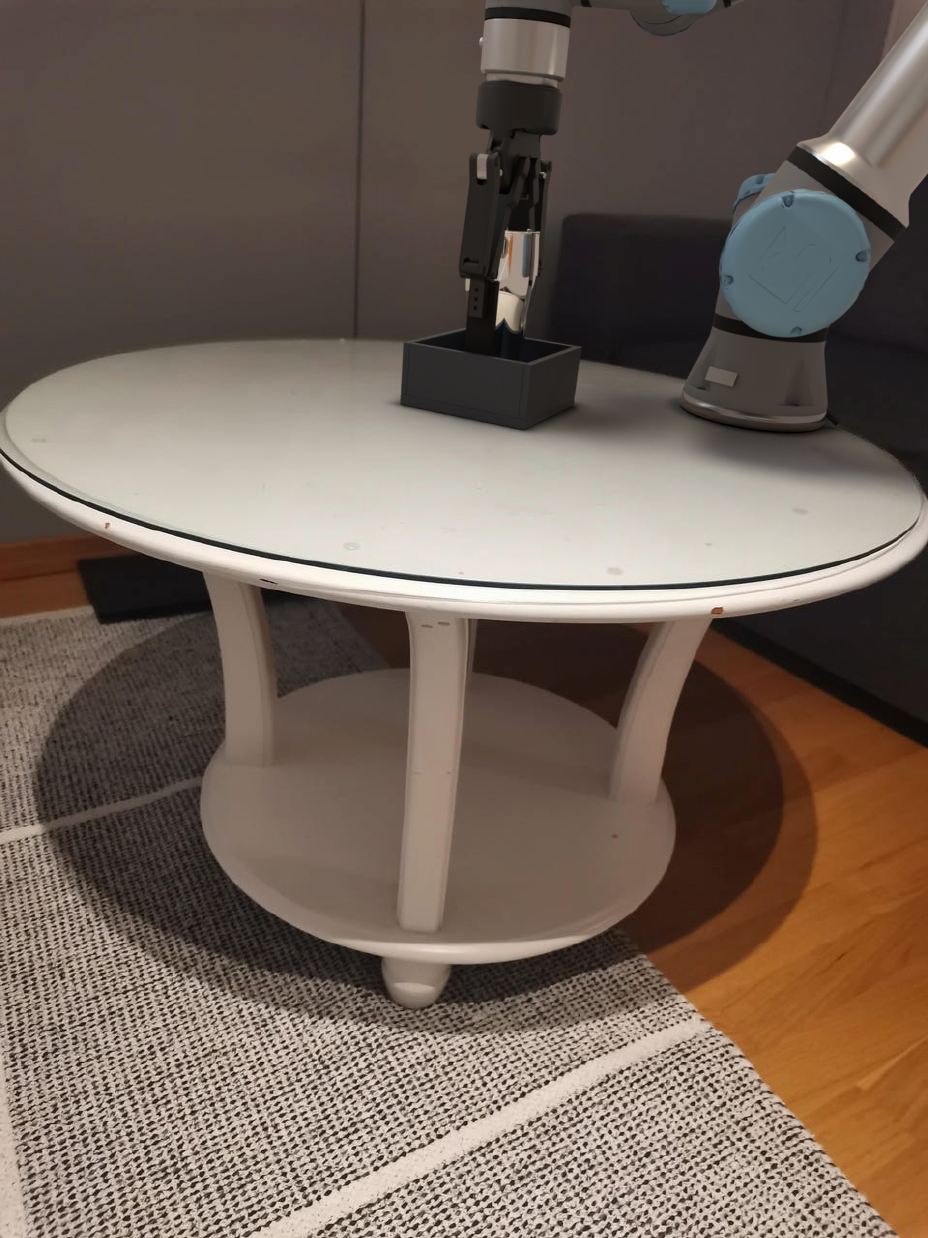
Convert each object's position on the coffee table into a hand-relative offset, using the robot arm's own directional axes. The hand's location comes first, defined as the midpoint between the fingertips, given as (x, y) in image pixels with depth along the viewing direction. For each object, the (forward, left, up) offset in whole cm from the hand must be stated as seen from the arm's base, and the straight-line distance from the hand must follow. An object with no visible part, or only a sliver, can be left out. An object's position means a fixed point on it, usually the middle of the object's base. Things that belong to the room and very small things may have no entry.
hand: (495, 346), depth 93 cm
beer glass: (0, 0, -4) cm, 4 cm away
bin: (0, 0, -6) cm, 6 cm away
